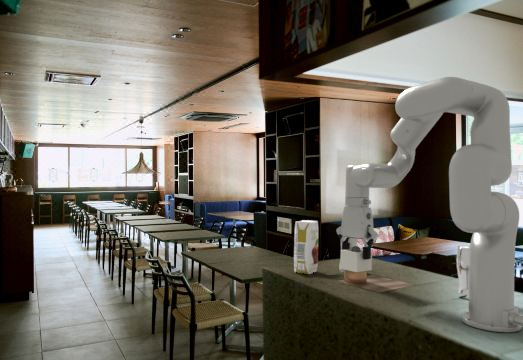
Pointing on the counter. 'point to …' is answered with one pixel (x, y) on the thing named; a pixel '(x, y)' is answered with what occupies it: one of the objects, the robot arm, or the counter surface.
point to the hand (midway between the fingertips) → (355, 256)
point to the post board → (371, 280)
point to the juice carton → (306, 246)
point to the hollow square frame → (354, 261)
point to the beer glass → (463, 270)
